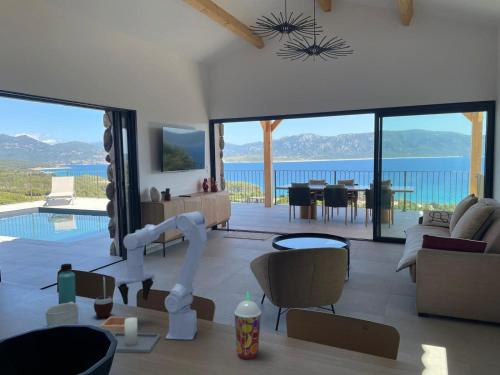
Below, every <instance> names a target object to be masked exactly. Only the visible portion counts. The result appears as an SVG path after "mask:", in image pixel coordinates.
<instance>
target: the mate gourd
mask: <svg viewBox="0 0 500 375" xmlns="http://www.w3.org/2000/svg"><path fill="white" fill-rule="evenodd" d="M102 278H103V285H102V286H103V295H101V296H98V297H96V299H95V300H94V303H93V309H94V312H95V315H96V320H100V319H104V318H105V319H106V320H107V319H108V318H109V317H110V315H111V313H112V310H113V307H114V300H113V299H112V296H110V295H109V296H108V295H106V286H107V285H106V277H105V276H103V277H102Z"/></svg>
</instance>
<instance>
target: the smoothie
mask: <svg viewBox="0 0 500 375" xmlns="http://www.w3.org/2000/svg"><path fill="white" fill-rule="evenodd" d="M249 296H250V292H249V291H246V300H242V301H241V302H239V303H238V305H237V306H236V309H235V310H234V312H233V313H234V326H235V341H236V344H235V346H236V353H237V354H238V356H239V357H240V358H242V359H249V360H250V359H254V358H256V357H257V355H258V353H259V344H260V343H259V342H260V328H261V314H262V311H261V309H260V307H259V306H258V304H257V303H256V302H255V301H252V300H250V297H249Z"/></svg>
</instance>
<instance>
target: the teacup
mask: <svg viewBox="0 0 500 375" xmlns="http://www.w3.org/2000/svg"><path fill="white" fill-rule="evenodd" d="M78 307H79V304H77V302H76V303H74V302H69V303H63V304H59V303H58V304H54V305H52V306H50V307H48V308H47V309H45V312H44V313H45V320H46V325H47V328H48V327H49V326H55V325H61V324H75V325H76V324H77V323H78V321H79V308H78Z"/></svg>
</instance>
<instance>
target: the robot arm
mask: <svg viewBox="0 0 500 375" xmlns="http://www.w3.org/2000/svg"><path fill="white" fill-rule="evenodd" d="M207 223H208V220H207V218H205V215H204V214H203V212H201V211H199V210H195V211H191V212H186V213H185V212H184V213H180V214H178V215H177V214H176V215H173V216H171V217H170V218H168V219H166V220H164V221H162V222H160V223H159V224H157V225H155V224H150V223H149V224H148V223H147V224H146V225H144V227H143V228H141V229H136V230H135V232H134V233H128V234H126V235H125V236H124V238H123V246H124V248H125V249H126V268H127V269H126V275H127V276H126V277H122V278H119V279H116V280H114V285H115V287H116V288H117V289H118V291H119V292H120V295H121V298H122V302H123V305H126V306H127V305H128V304H129V289H130V287H128V285H130V284H135V283H140V282H141V285H142V299H143V300H144V301H147V300H148V296H149V293H150V291H151V288H152V286H153V285H154V280H155V274H154V273H145V274H144V251H145V246H146V245H148V244H150V243H152V242H154V241H156V240H158V239H159V237H160V235H161V234H163V233H165V232H168V231H170V230H172V229H175V230H179V231H180V232H181V234H183V236H184V237H185V238H186V239H187V241H189V244H188V247H187V250H186V254H185V256H184V260H183V262H182V264H181V265H182V266H181V268H180V272H179V274H178V278H177V280H176V283H175V284H174V285H173V287H172V288H171V290H170V292H169V294H168V295H167V296H166V297H165V299H164V307H165V309H166V310H167V312H168V333H167V334H166V336H165V339H166V340H188V341H189V340H190V341H191V340H193V339H194V337H195V335H196V333H197V331H198V329H197V328H198V326H197V325H198V323H197V321H198V320H197V318H198V317H197V311H196V310H195V309H191V304H192V303H193V301H194V290H195V288H194V287H193V283H194V281H195V277H196V275H197V273H198V272H197V271H198V268H199V266H200V263H201V261H202V256H203V254H204V251H205V249H206V248H205V247H206V245H207V241H208V237H207V228H206V227H207Z"/></svg>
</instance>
